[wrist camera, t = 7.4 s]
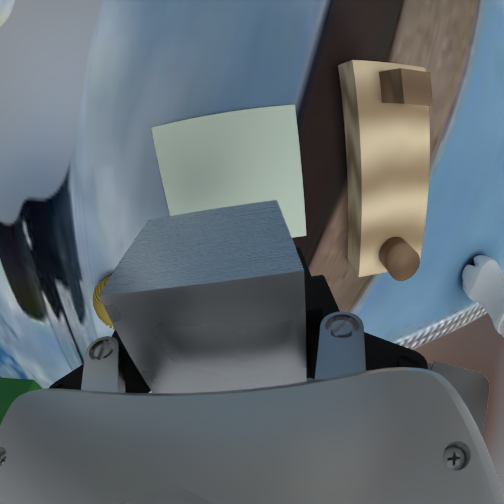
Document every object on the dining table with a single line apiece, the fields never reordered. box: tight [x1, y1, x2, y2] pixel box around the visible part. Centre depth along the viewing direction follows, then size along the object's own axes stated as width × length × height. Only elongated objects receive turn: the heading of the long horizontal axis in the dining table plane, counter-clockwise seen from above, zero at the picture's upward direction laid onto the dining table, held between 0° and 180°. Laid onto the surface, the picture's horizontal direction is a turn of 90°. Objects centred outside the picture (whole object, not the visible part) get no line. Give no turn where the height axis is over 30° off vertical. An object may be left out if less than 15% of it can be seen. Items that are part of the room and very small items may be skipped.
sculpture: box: [93, 276, 115, 330], centre depth 33 cm, size 8×4×8 cm
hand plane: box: [338, 60, 433, 281], centre depth 25 cm, size 22×8×8 cm, turn 8°
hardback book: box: [0, 378, 42, 425], centre depth 37 cm, size 18×7×24 cm, turn 104°
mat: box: [151, 104, 306, 238], centre depth 29 cm, size 14×14×1 cm
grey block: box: [99, 200, 306, 393], centre depth 10 cm, size 7×5×5 cm
